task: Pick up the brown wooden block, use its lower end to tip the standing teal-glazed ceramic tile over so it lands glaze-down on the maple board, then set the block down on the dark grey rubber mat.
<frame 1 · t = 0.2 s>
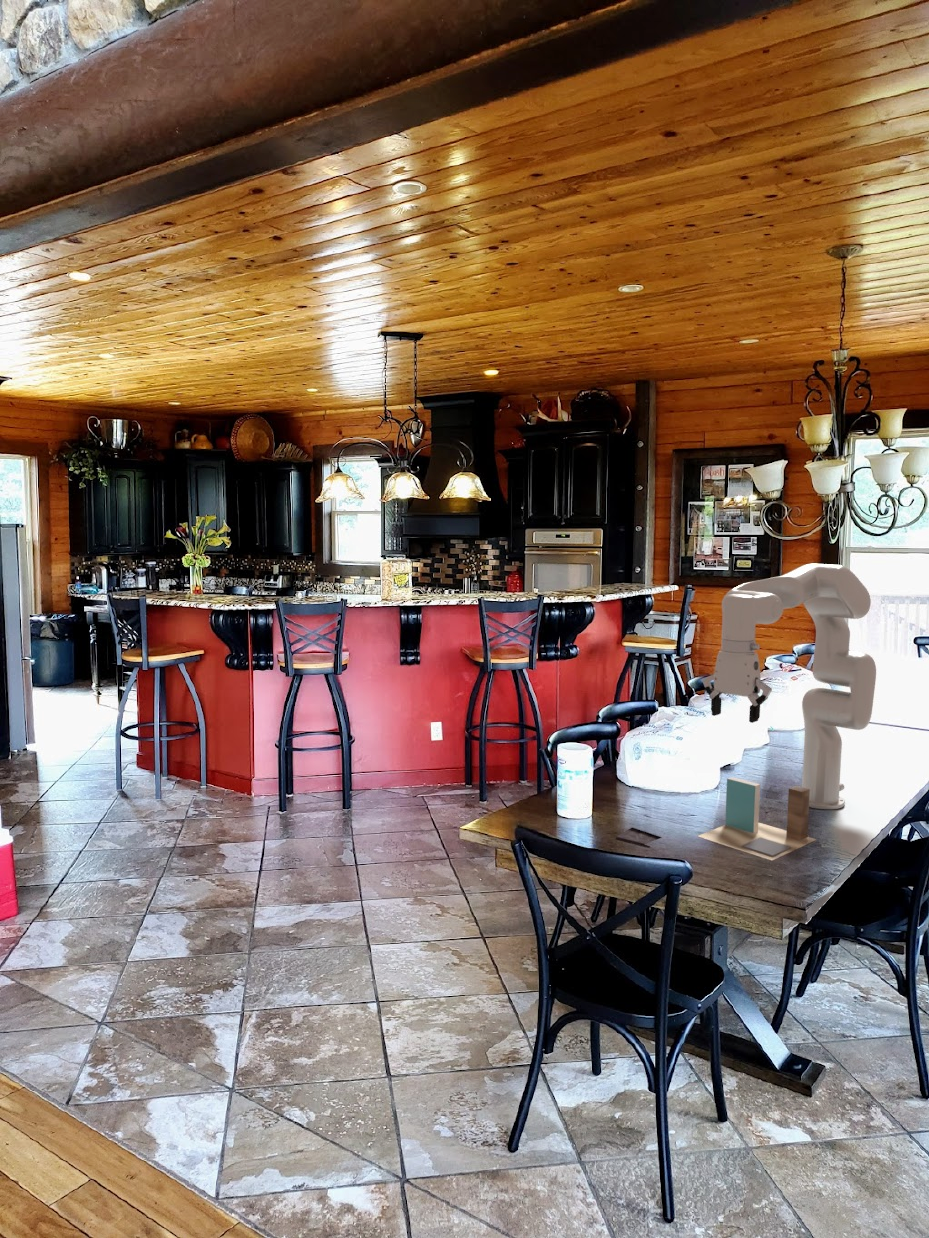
hand: (734, 718, 216), 31 cm above the table, fingers open, 9 cm apart
brown wooden block: (796, 836, 220), point 1 cm above the table, touching board
tile: (741, 828, 226), point 1 cm above the table, touching board
board: (756, 842, 219), on the table
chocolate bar: (649, 834, 226), on the table
mat: (766, 847, 213), resting on board
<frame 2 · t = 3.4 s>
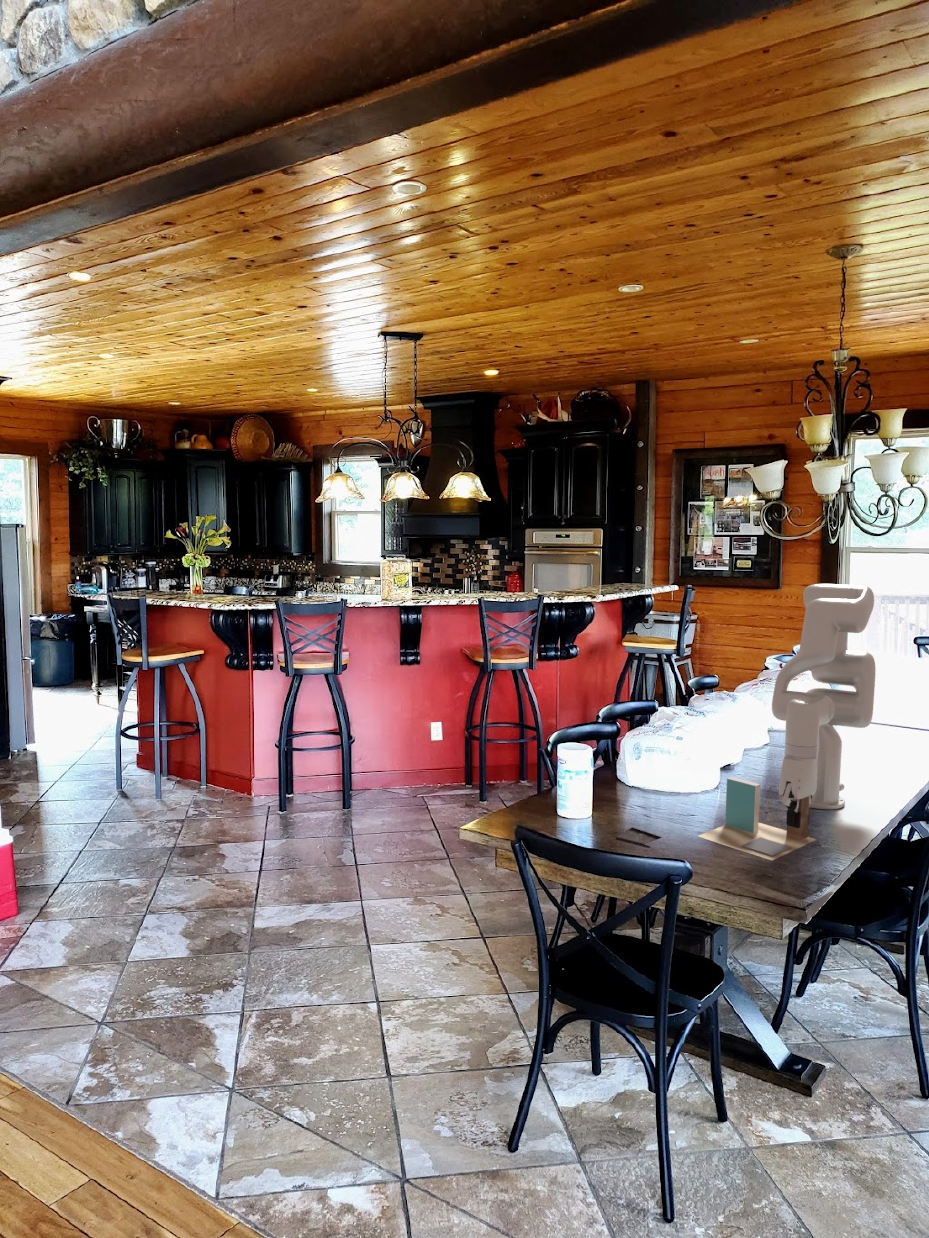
hand: (797, 823, 220), 4 cm above the table, fingers closed on brown wooden block, 3 cm apart
brown wooden block: (796, 836, 220), point 1 cm above the table, touching board, gripper
everything else where it was.
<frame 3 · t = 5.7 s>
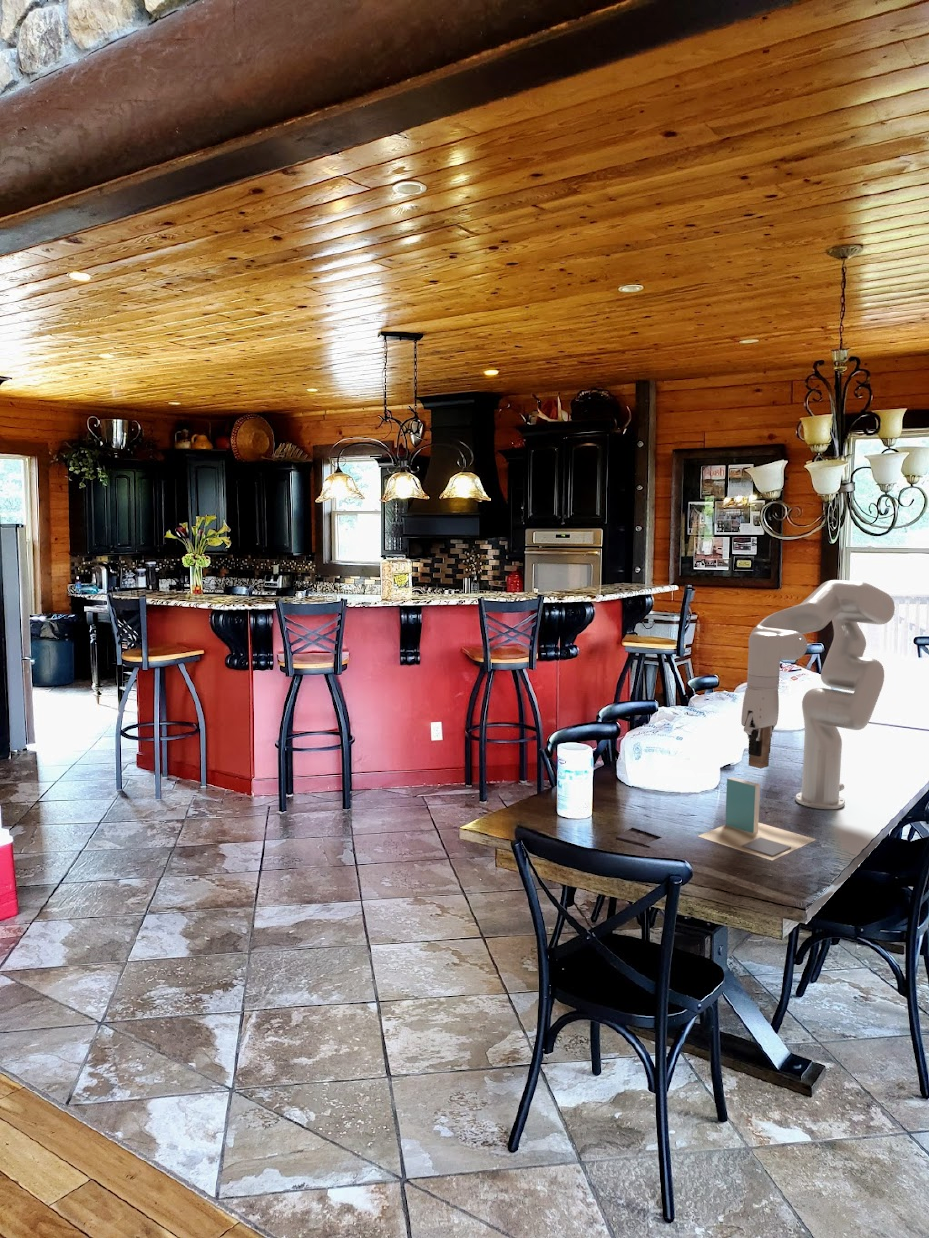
hand: (759, 753, 228), 19 cm above the table, fingers closed on brown wooden block, 3 cm apart
brown wooden block: (758, 765, 228), point 16 cm above the table, touching gripper
everything else where it was.
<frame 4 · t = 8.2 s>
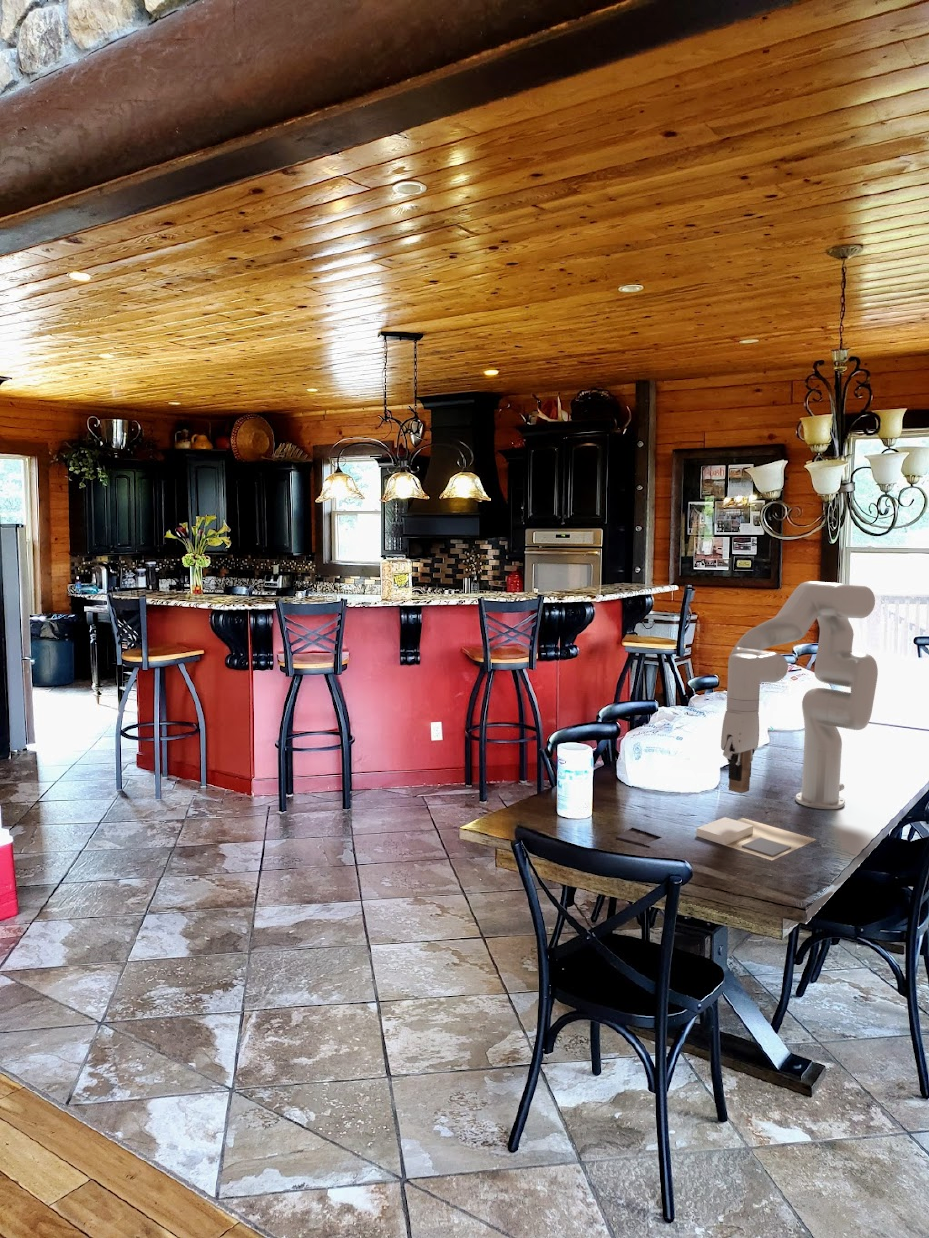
hand: (739, 777, 223), 15 cm above the table, fingers closed on brown wooden block, 3 cm apart
brown wooden block: (739, 790, 223), point 11 cm above the table, touching gripper
tile: (738, 825, 225), point 2 cm above the table, tilted 90°, touching board
everything else where it was.
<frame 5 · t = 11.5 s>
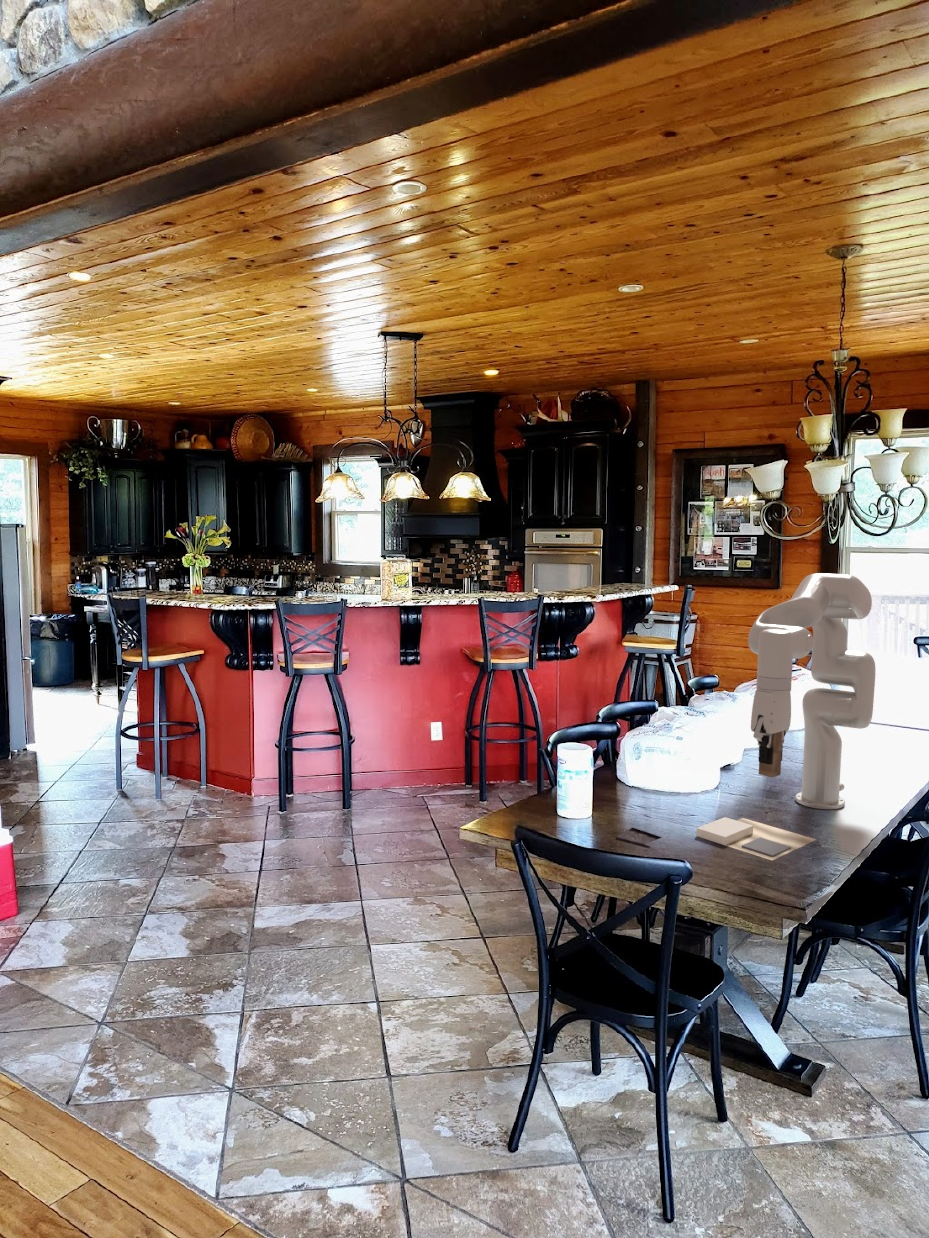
hand: (770, 760, 210), 22 cm above the table, fingers closed on brown wooden block, 3 cm apart
brown wooden block: (769, 774, 211), point 19 cm above the table, touching gripper
everything else where it was.
when the fingers open (6 cm above the table, at t = 14.6 s): brown wooden block drops 1 cm, resting on mat.
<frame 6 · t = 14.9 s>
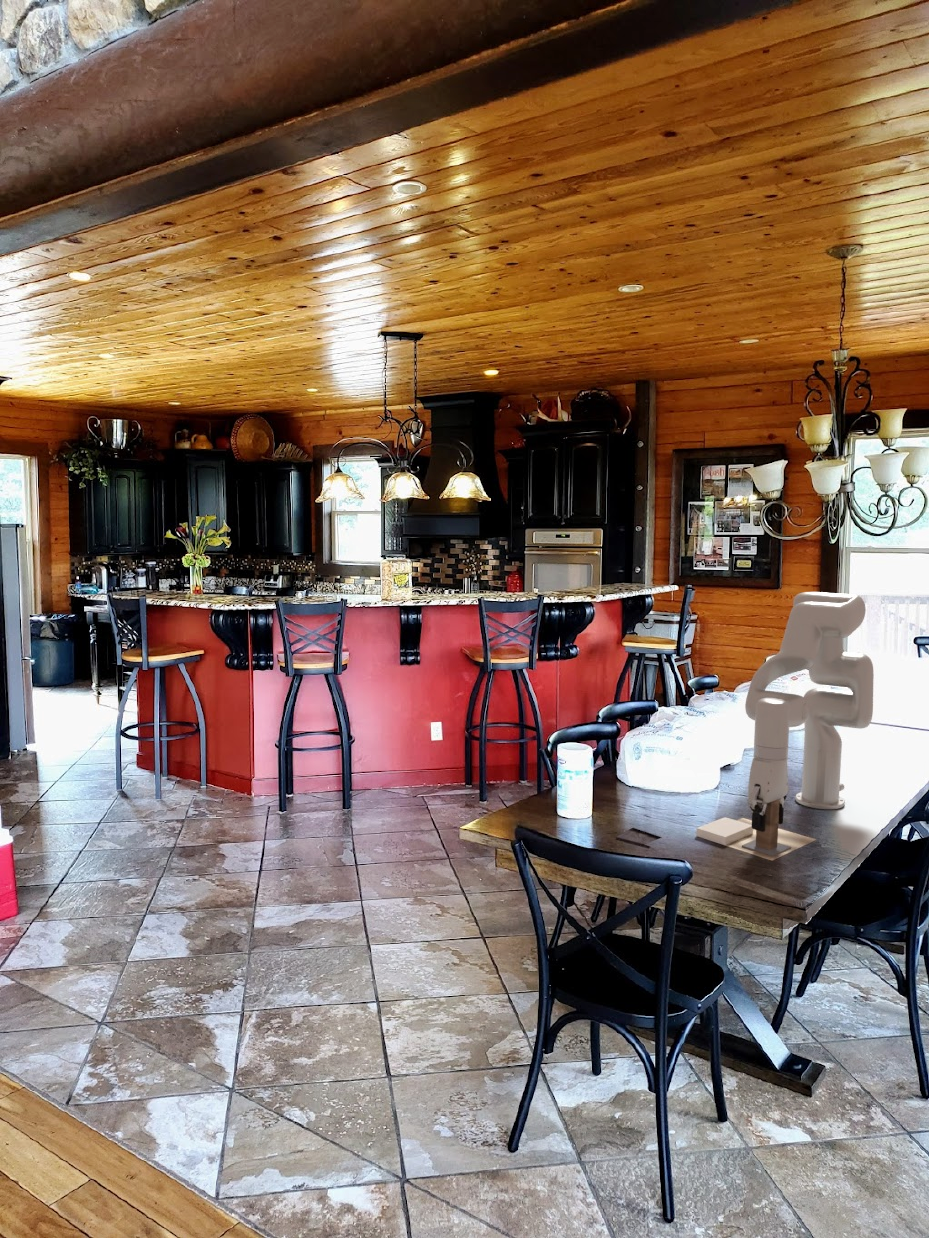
hand: (767, 825, 212), 7 cm above the table, fingers open, 7 cm apart
brown wooden block: (766, 845, 213), point 2 cm above the table, touching mat
everything else where it was.
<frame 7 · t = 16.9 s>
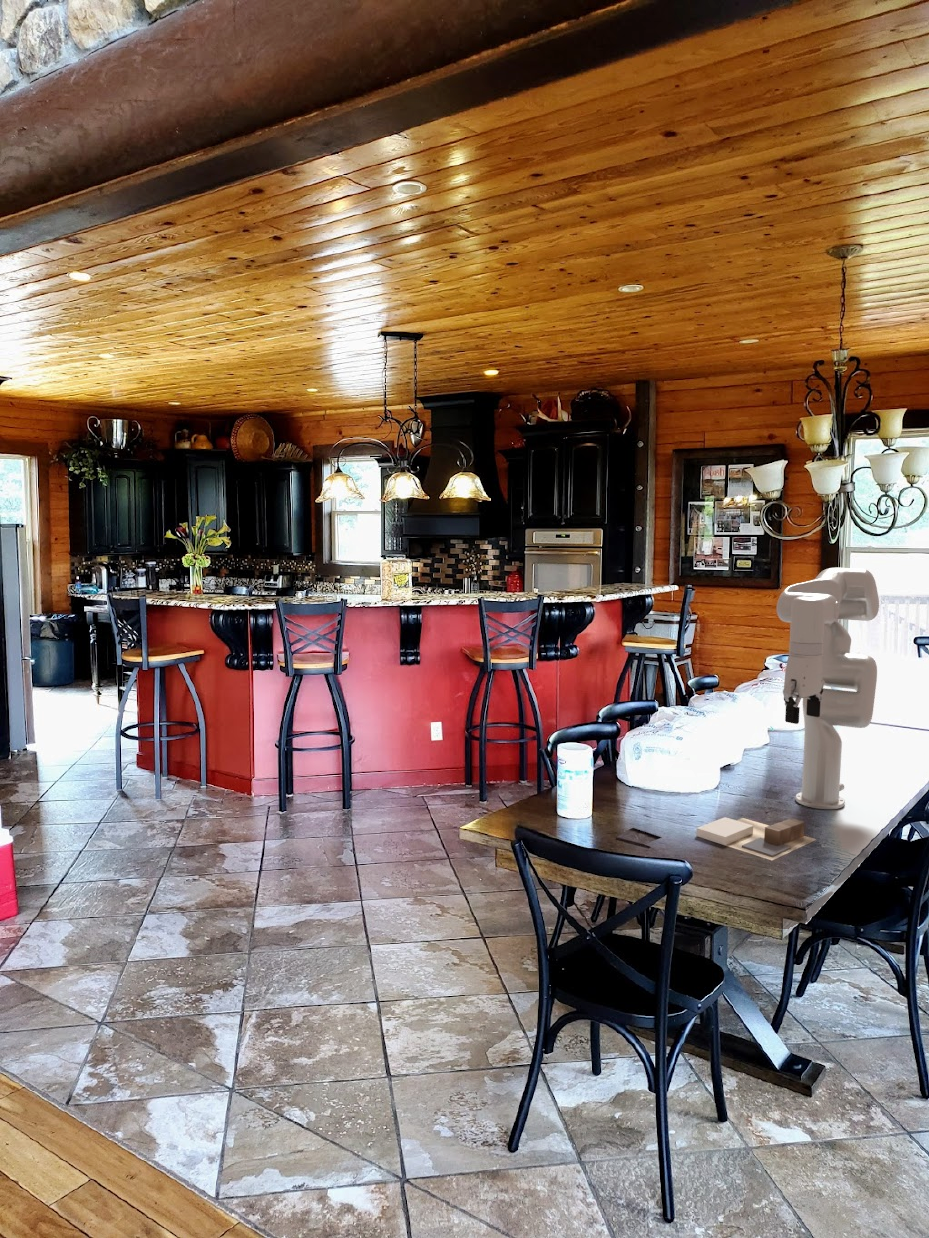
hand: (802, 719, 218), 30 cm above the table, fingers open, 9 cm apart
brown wooden block: (771, 836, 214), point 3 cm above the table, tilted 92°, touching board, mat
everything else where it was.
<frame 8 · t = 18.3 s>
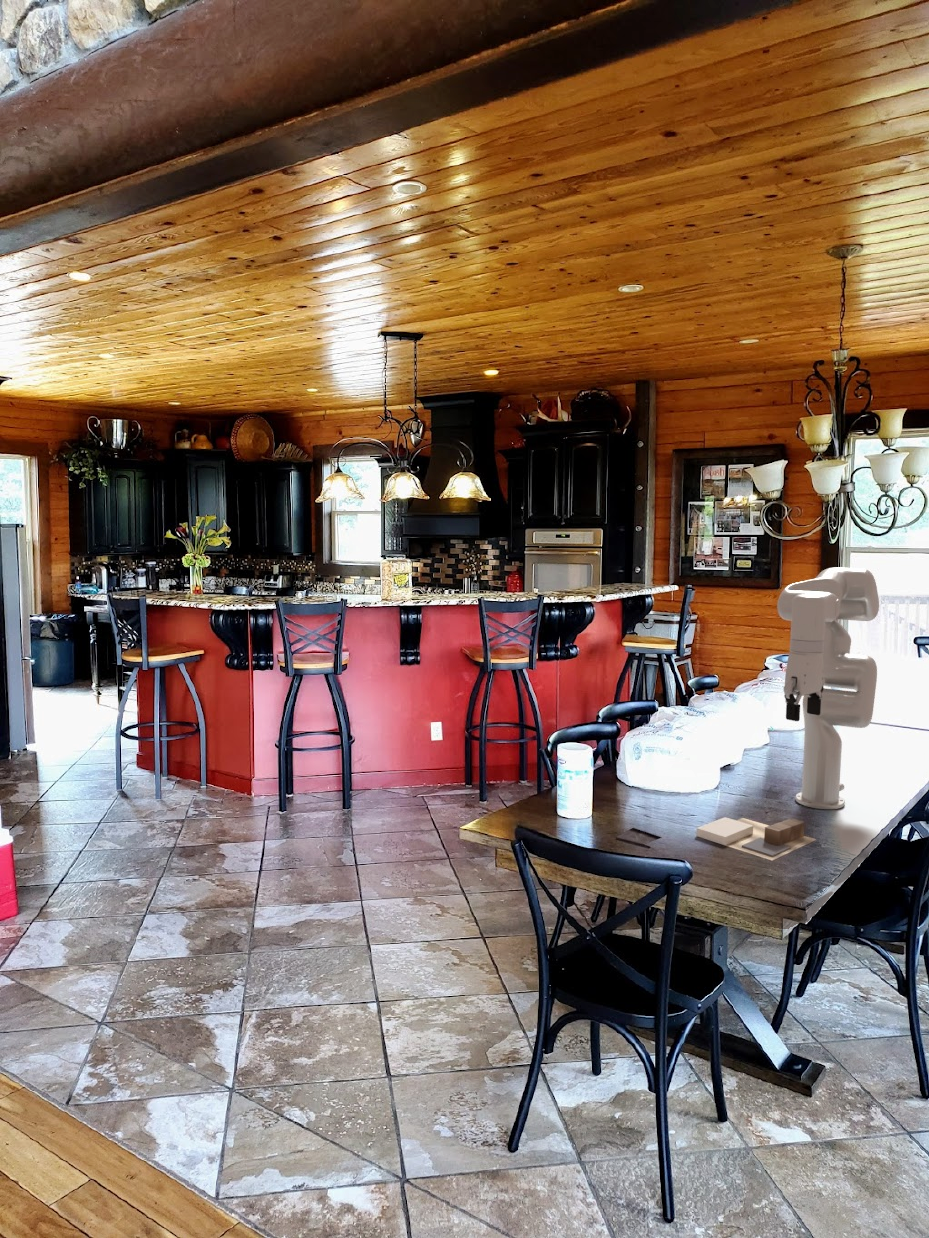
hand: (803, 717, 218), 30 cm above the table, fingers open, 9 cm apart
nothing on the table moved.
at the end: tile tilted 90°; brown wooden block 2.0 cm from the mat (horizontally); the gripper is holding nothing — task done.
